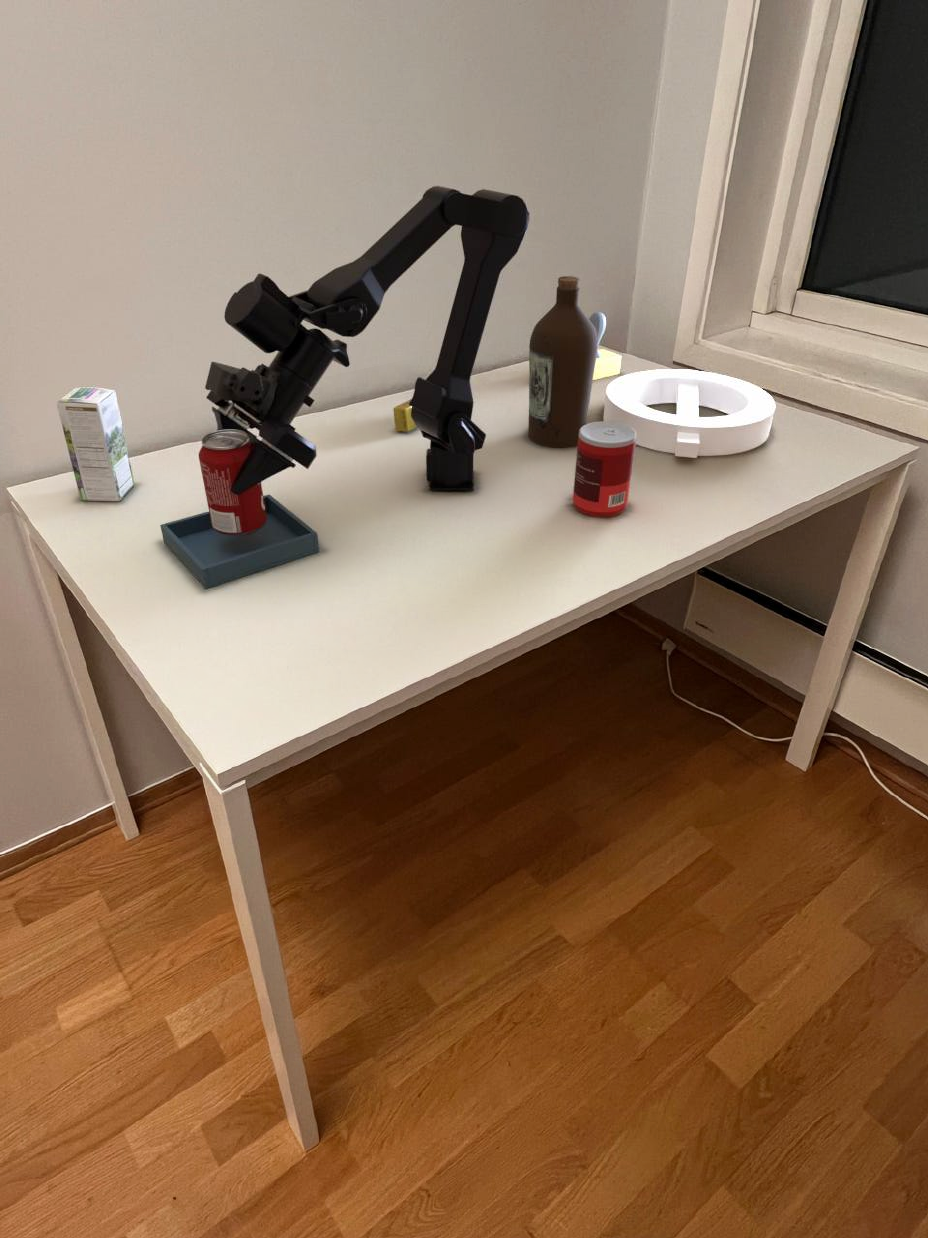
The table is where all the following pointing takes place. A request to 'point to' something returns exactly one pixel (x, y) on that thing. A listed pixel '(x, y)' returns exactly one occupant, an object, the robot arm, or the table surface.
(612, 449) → the canned food
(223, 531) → the soda can
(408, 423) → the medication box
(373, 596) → the table surface
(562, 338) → the olive oil
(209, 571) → the tray
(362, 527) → the table surface
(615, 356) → the rubber stamp
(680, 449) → the ring with crossbar
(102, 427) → the syrup box
